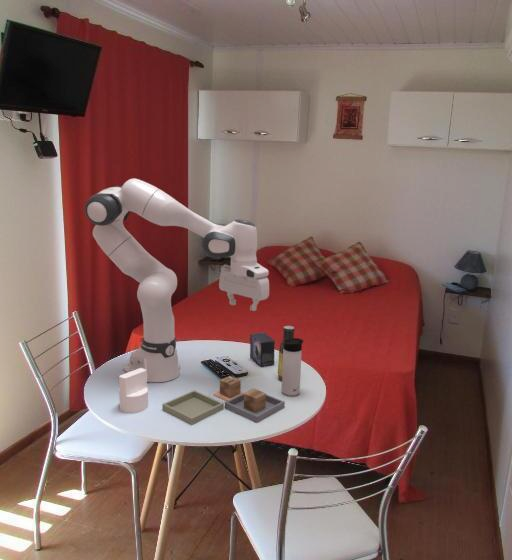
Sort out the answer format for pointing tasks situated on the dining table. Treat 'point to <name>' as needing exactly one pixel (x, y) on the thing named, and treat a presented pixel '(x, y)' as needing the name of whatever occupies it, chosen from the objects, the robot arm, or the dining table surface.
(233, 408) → the tray charcoal
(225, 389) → the letter cube
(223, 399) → the terracotta tile
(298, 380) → the travel mug
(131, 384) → the cylinder with rectangular tab
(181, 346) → the dining table surface
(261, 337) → the small box
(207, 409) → the tray olive
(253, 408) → the plain block
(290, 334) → the sauce bottle
